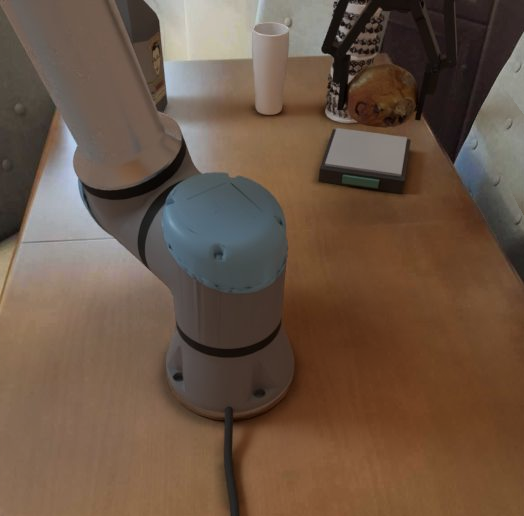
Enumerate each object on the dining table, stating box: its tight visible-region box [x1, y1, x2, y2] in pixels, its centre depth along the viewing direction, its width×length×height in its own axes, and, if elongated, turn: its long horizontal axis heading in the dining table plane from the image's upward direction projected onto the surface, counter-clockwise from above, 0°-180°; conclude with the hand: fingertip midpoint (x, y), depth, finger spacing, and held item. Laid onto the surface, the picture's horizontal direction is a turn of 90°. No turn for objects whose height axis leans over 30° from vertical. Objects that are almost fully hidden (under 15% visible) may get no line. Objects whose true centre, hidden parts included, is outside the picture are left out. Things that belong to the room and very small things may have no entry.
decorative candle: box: [324, 0, 385, 124], centre depth 109 cm, size 9×9×25 cm
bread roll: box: [346, 62, 420, 129], centre depth 82 cm, size 10×10×8 cm
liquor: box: [115, 0, 168, 113], centre depth 106 cm, size 9×9×30 cm
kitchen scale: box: [318, 127, 412, 195], centre depth 103 cm, size 14×14×3 cm
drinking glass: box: [251, 21, 290, 116], centre depth 112 cm, size 7×7×15 cm
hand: (379, 110), depth 83 cm, fingers closed on bread roll, 10 cm apart
